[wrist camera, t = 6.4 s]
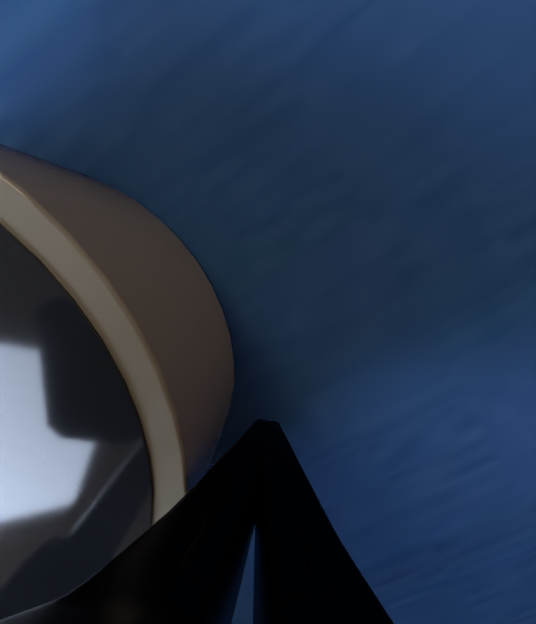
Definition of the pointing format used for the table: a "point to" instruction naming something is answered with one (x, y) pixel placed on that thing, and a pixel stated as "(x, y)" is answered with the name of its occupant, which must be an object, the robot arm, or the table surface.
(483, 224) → the table surface
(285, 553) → the robot arm
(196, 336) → the pot
